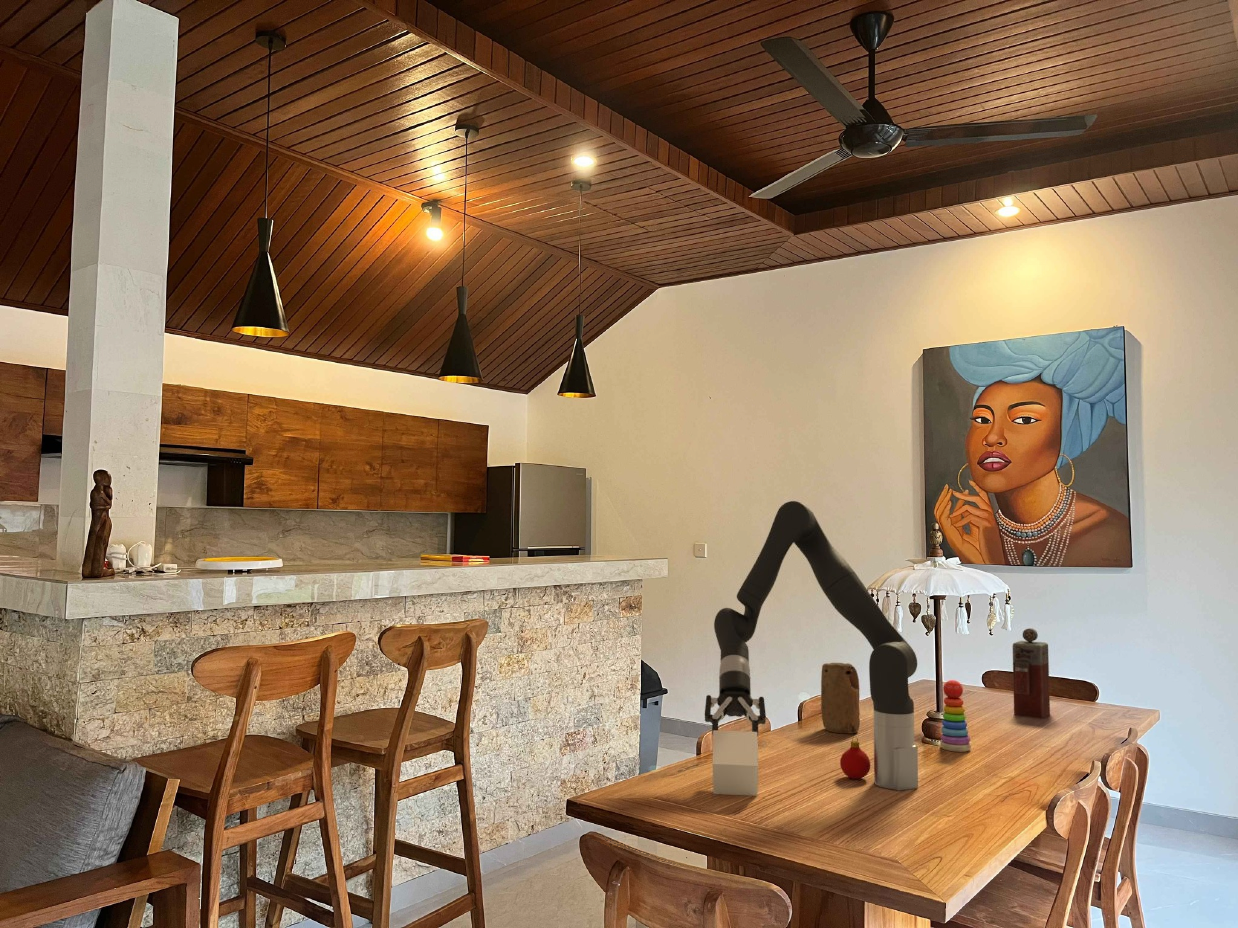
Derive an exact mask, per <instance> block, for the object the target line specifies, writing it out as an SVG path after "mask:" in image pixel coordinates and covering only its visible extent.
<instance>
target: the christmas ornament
mask: <svg viewBox="0 0 1238 928" xmlns="http://www.w3.org/2000/svg"><path fill="white" fill-rule="evenodd" d="M854 738H856V740H854ZM839 760H840V761H839V765H840V769H841V770H842V772H843V774H844V775H845V776H847V778H849V779H852V780H860V779H864V778H865V777H866V776H867V775H868V774H869V772H870V769H871V761H870V758H869V756H868V755H867V753H866V752H865V751H864V750H862V749H861V748H860V742H859V738H858V737H857V736H852V739H851V741H850V748H848V749H847V750H845V751H844V752H843V753H842V755H841V757H840V759H839Z"/></svg>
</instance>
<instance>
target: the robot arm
mask: <svg viewBox="0 0 1238 928" xmlns="http://www.w3.org/2000/svg"><path fill="white" fill-rule="evenodd" d="M793 544H794V545H795V546H796V547H797V548H798V549H799V551H800V552H801V553H802V555H803V556H804V557H805V558H806V560H807V561H808V564H809V565H810V567H811V570H812V572H813V574H814V577H815V579H816V581H817V583H818V585H819V587H820V588H821V590H822V592H823V594H824V595H825V596H826V598H827V599H828V601H829V602H830V604H831V605H832V606H833V608H834V609H835V610H836V611H837V612H838V613H839V614H840V615H841V616H842V617H843V618H844V619H845V620H847V621H848V622H849V623H850V624H851V625H852V626H853V627H855V628H856V630H858V631H859V632H860V633H861V634H862V635H863V636H864V638H865V639H866V640H867V642H868V643H869V645H870V646H871V648H872V649H873V650H872V651H871V653H870V657H869V661H868V662H869V663H868V664H869V665H868V669H869V671H868V674H869V675H868V677H869V691H870V693H869V694H870V698H871V700H872V704H873V705H872V706H873V707H872V708H873V772H874V773H873V776H874V777H873V778H874V779H873V780H874V784H875V785H876V786H878V787H880V788H884V789H890V790H896V791H904V790H911V789H917V788H919V762H918V761H919V759H918V758H919V756H918V755H919V754H918V753H919V751H918V746H917V745H915V707H914V706H915V704H914V703H915V702H914V700H913V698H911V696H910V693H909V678H911V677H912V676H913V675H914V674H915V672H916V671H917V668H918V657H917V655H916V653H915V651H914V649H913V648H912V646H911V645H910V644H909V643H908V641H907V640H905V638H904V637H903V636H902V635H901V634H900V633H899V632H898V630H897V629H896V628H895V627H894V626H893V625H892V623H891V622H890V621H889V620H888V618H887V617H886V615H885V614H884V612H883V611H882V609H881V608H880V607H879V605H878V603H877V602H876V601H875V600H874V598H873V596H872V595H871V594H870V592H869V591H868V588H866V586H865V584H864V583H863V582H862V580H861V579H860V577H859V575H858V574H856V572H855V570H854V569H853V568H852V567H851V565H850V563H848V562H847V561H846V559H845V558H844V557H843V556H842V555H841V554H840V552H838V550H837V549H836V548H835V547H834V546H833V545H832V544H831V542H830V540H829V539H828V537H827V535H826V534H825V533H824V530H823V529H822V527H821V525H820V523H819V521H818V520H817V517H816V516H815V514H814V512H813V511H812V510H811V509H810V508H809V507H808V506H806V504H804V503H802V502H801V501H799V500H791V501H790V500H789V501H787V502H785V503H783V504H781V506H780V507H779V508H778V510H777V512H776V514H775V516H774V520H773V522H772V525H771V527H770V530H769V532H768V535H767V537H766V539H765V542H764V544H763V546H762V548H761V551H760V552H759V554H758V556H757V559H756V561H755V562H754V564H753V566H752V568H751V569H750V571H749V573H748V575H747V576H746V578H745V579H744V581H743V583H742V584H741V586H740V588H739V589H738V591H737V594H736V600H737V601H738V602H740V604H742V606H744V612H743V614H742V613H741V612H738V611H737V610H735V609H733V608H731V607H723V608H721V609H720V610H719V611H718V612H717V613H716V615H715V618H714V623H713V628H714V634H715V637H716V640H717V644H718V646H719V649H720V664H719V675H718V678H719V680H718V681H719V686H718V687H719V689H718V691H719V692H718V694H719V695H718V697H712V696H711V695H710V694H707V695H706V698H705V707H704V721H705V723H711V734H712V735H713V730H717V731H719V723H720V722H721V720H724V718H725V717H726V716H728V717H739V718H742V717H743V716H744V717H745V719H746V720H747V721H749V722H750V723H751V732H757V738H758V737H759V725H765V724H766V719H767V716H766V715H767V713H766V708H765V707H766V706H765V704H766V703H765V698H764V696H759V698H752V696H751V692H752V691H751V679H752V678H751V669H750V668H751V667H750V655H749V653H750V652H749V646H748V644H747V642H749V641H750V640H751V639H752V638H753V637H754V634H755V632H756V628H757V625H758V620H759V616H760V613H761V610H762V608H763V604H764V603H765V601H766V599H767V598H768V596H769V594H770V593H771V591H772V589H773V587H774V585H775V583H776V581H777V578H778V576H779V572H780V571H781V570H780V569H781V567H782V564H783V562H784V559H785V557H786V556H787V553H788V551H789V550H790V548H791V547H792V545H793ZM716 704H717V706H718V707H717V710H716V711H715V713H713V714H711V713H712V712H711V711H712V708H714V707H715V705H716ZM753 705H754V706H755V708H756V709H757V710H758V712H759V716H757V715H756V713H755V712H754V710H753V708H752V707H753Z"/></svg>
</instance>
